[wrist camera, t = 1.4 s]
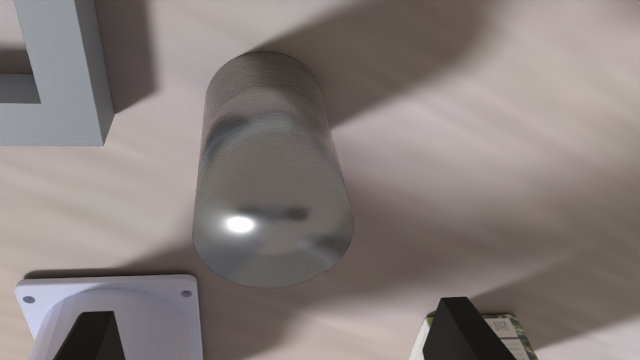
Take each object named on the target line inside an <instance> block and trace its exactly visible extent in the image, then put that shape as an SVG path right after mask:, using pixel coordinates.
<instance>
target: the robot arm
mask: <svg viewBox="0 0 640 360" xmlns="http://www.w3.org/2000/svg"><path fill="white" fill-rule="evenodd" d="M14 290H15V294H16V297H17V299H18V301H19V304H20V306H21V309H22V311H23V313H24V316H25V318H26V321H27V323H28V326H29V328H30V330H31V333H32V335H33V338H34V340H35V341H34V344H33V347H32V350H31V353H30V355H29V358H28V360H203V349H202V337H201V324H200V312H199V300H198V288H197V280H196V278H195V277H194V276H191V275H187V274H180V275H147V276H115V277H82V278H50V279H25V280H21V281H19V282H18V283H17V285H16V287H15V289H14ZM185 290H187V291H185ZM422 352H423V357H424V360H517V359H516V358H515V357H514V355H513V354H512V353H511V352H510V351H509V349H508V348H507V347H506V346H505V344H504V343H503V342H502V341H501V339H500V338H499V337H498V336H497V334H496V333H495V332H494V331H493V329H492V328H491V327H490V326H489V324H488V323H487V322H486V321H485V319H484V318H483V317H482V316H481V314H480V313H479V312H478V310H477V309H476V308H475V307H474V305H473V304H472V303H471V302H470V300H469V299H468V298H467V297H447V298H441V299H440V302H439V305H438V308H437V310H436V313H435V316H434V319H433V321H432V324H431V327H430V330H429V332H428V335H427V338H426V341H425V343H424V346H423V349H422Z"/></svg>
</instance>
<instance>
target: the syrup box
mask: <svg viewBox="0 0 640 360" xmlns="http://www.w3.org/2000/svg"><path fill="white" fill-rule="evenodd" d="M481 316H482V317H483V318H484V319H485V321H486V322H487V323H488V324H489V326H490V327H491V328H492V329H493V331H494V332H495V333H496V334H497V336H498V337H499V338H500V339H501V341H502V342H503V343H504V344H505V346H506V347H507V348H508V349H509V351H510V352H511V353H512V354H513V355H514V357H515V358H516V359H517V360H538V358H537V356H536V354H535V352H534V350H533V349H532V347H531V345H530V343H529V341H528V339H527V337H526V334H525V333H524V331H523V329H522V327H521V325H520V323H519V321H518V319H517V317H516V316H515V315H514V314H504V315H481ZM433 319H434V317H426V318H425V320H424V322H423V324H422V326H421V329H420V331H419V334H418V336H417V339H416V342H415V344H414V347H413V350H412V353H411V355H410V358H409V360H424V357H423V352H422V349H423V346H424V343H425V341H426V338H427V335H428V332H429V330H430V327H431V324H432V321H433Z"/></svg>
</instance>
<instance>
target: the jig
mask: <svg viewBox="0 0 640 360" xmlns="http://www.w3.org/2000/svg"><path fill="white" fill-rule="evenodd" d="M13 1H14V5H15V8H16V12H17V16H18V19H19V23H20V27H21V30H22V34H23V38H24V41H25V45H26V49H27V52H28V56H29V60H30V63H31V67H32V71H33V74H8V73H0V146H104V143H105V140H106V138H107V135H108V132H109V129H110V126H111V124H112V121H113V118H114V110H113V104H112V99H111V93H110V87H109V82H108V76H107V70H106V65H105V59H104V53H103V48H102V42H101V36H100V31H99V25H98V20H97V14H96V8H95V3H94V0H13Z"/></svg>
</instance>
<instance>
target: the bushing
mask: <svg viewBox="0 0 640 360" xmlns="http://www.w3.org/2000/svg"><path fill="white" fill-rule="evenodd" d="M353 230H354V222H353V216H352V212H351V208H350V204H349V200H348V196H347V192H346V188H345V185H344V181H343V177H342V173H341V169H340V165H339V161H338V157H337V153H336V149H335V145H334V141H333V138H332V134H331V130H330V126H329V122H328V118H327V114H326V110H325V106H324V102H323V98H322V94H321V91H320V87H319V85H318V83H317V80H316V79H315V77H314V76H313V74H312V73H311V72H310V71H309V70H308V69H307V68H306V67H305V66H304V65H303V64H302V63H300V62H299V61H297V60H295V59H293V58H291V57H289V56H287V55H284V54H280V53H276V52H267V51H264V52H252V53H248V54H244V55H241V56H239V57H236V58H234V59H233V60H231V61H229V62H228V63H226V64H225V65H224V66H222V67H221V68H220V69H219V70H218V71H217V73H216V74H215V75H214V77H213V78H212V80H211V82H210V84H209V86H208V89H207V93H206V98H205V108H204V118H203V128H202V139H201V149H200V159H199V169H198V179H197V189H196V199H195V209H194V219H193V230H192V237H193V243H194V246H195V249H196V252H197V253H198V255H199V257H200V259H201V260H202V261H203V262H204V263H205V265H206V266H207V267H209V268H210V269H211V270H212V271H213V272H215V273H216V274H218V275H219V276H221V277H223V278H225V279H227V280H229V281H232V282H234V283H238V284H241V285H245V286H250V287H259V288H277V287H286V286H291V285H295V284H299V283H302V282H305V281H308V280H310V279H313V278H315V277H317V276H319V275H320V274H322V273H324V272H326V271H327V270H328V269H330V268H331V267H332V266H333V265H334V264H336V263H337V262H338V261H339V260H340V258H341V257H342V256H343V255H344V253H345V252H346V250H347V249H348V247H349V245H350V242H351V240H352V236H353Z"/></svg>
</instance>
